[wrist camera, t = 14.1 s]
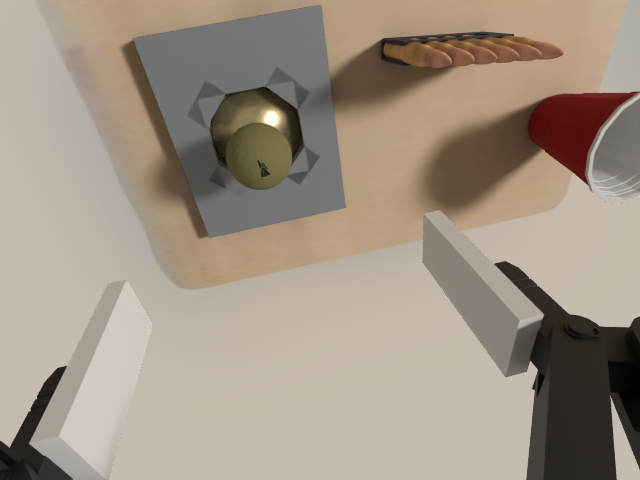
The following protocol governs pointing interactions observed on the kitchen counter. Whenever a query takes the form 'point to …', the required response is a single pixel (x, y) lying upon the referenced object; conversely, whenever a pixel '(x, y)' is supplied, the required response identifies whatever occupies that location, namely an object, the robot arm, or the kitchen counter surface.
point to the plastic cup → (594, 140)
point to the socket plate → (249, 112)
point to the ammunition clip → (465, 49)
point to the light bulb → (258, 156)
